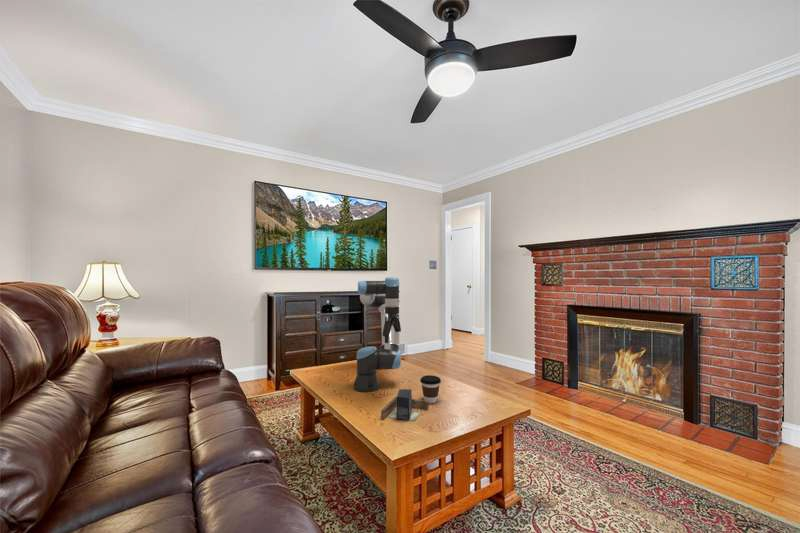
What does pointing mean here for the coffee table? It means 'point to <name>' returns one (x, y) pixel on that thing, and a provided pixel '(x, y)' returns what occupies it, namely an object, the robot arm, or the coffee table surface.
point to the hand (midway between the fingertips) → (392, 346)
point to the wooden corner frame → (392, 405)
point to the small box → (404, 404)
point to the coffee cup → (430, 387)
